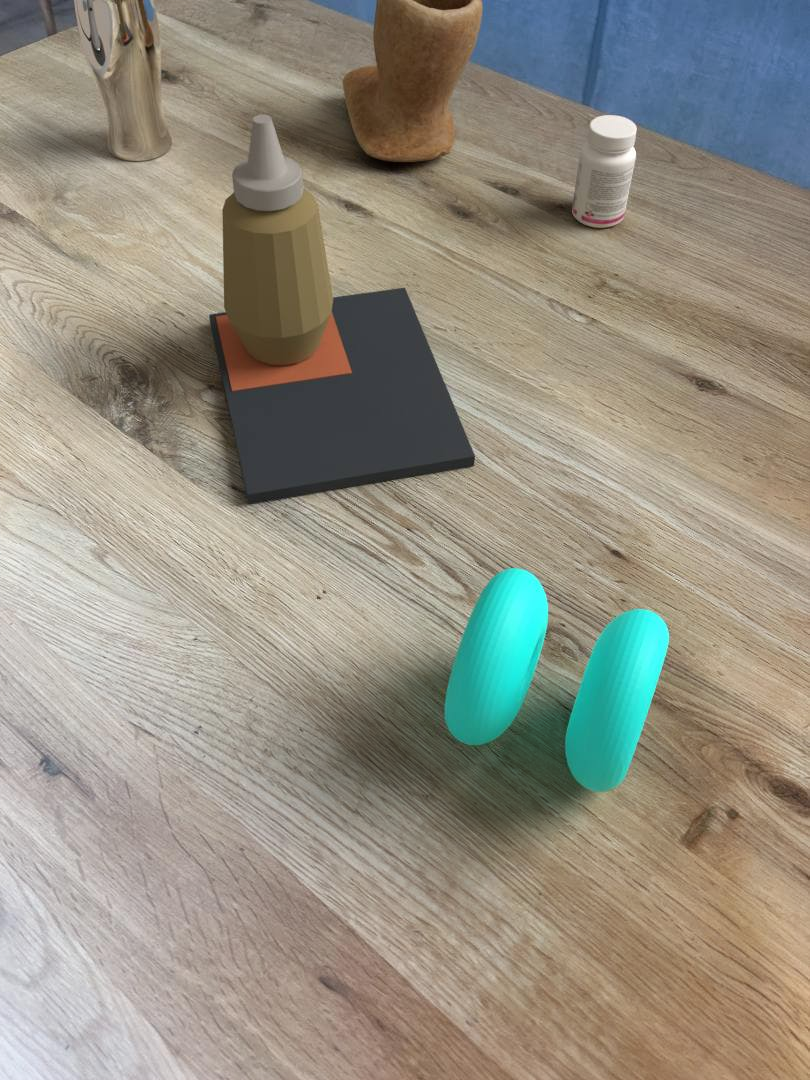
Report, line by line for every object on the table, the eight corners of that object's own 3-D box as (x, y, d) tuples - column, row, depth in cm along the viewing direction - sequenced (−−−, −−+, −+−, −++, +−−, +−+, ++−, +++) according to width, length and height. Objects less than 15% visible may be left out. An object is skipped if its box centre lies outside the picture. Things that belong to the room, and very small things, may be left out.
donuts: (492, 632, 65) (507, 524, 57) (651, 686, 62) (689, 582, 55) (432, 766, 59) (440, 666, 51) (606, 832, 56) (641, 737, 49)
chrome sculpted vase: (170, 122, 104) (144, -39, 93) (183, 157, 100) (157, -7, 89) (99, 133, 103) (63, -30, 92) (109, 169, 99) (73, 3, 87)
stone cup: (482, 168, 100) (495, 4, 88) (357, 175, 99) (354, 10, 87) (455, 91, 110) (464, -65, 98) (341, 97, 108) (337, -61, 97)
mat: (210, 324, 84) (208, 313, 83) (404, 297, 87) (405, 286, 86) (248, 504, 71) (246, 493, 70) (474, 466, 74) (475, 455, 73)
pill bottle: (635, 218, 95) (653, 129, 88) (597, 235, 93) (612, 146, 86) (598, 194, 97) (613, 106, 91) (560, 211, 95) (573, 122, 89)
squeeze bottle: (207, 348, 80) (171, 123, 67) (278, 297, 85) (258, 76, 71) (287, 392, 77) (266, 165, 64) (356, 337, 81) (351, 114, 68)
